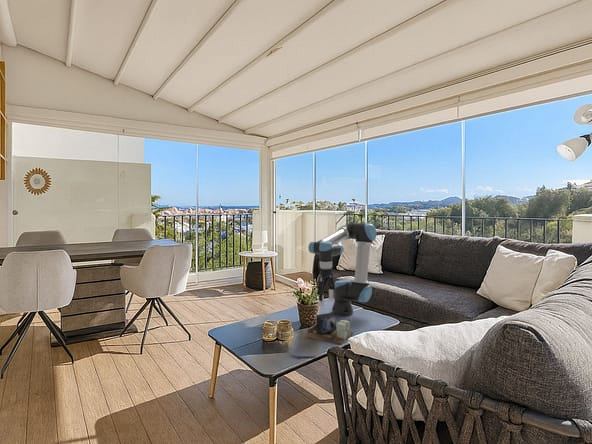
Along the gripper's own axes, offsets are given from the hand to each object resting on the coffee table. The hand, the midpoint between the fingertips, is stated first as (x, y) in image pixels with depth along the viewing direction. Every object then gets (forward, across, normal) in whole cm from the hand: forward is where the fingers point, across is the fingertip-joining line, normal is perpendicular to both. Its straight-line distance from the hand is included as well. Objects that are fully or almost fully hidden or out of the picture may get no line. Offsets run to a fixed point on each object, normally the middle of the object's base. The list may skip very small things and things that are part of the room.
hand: (326, 302), depth 215 cm
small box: (+18, +2, +1) cm, 18 cm away
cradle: (+19, +2, +3) cm, 19 cm away
